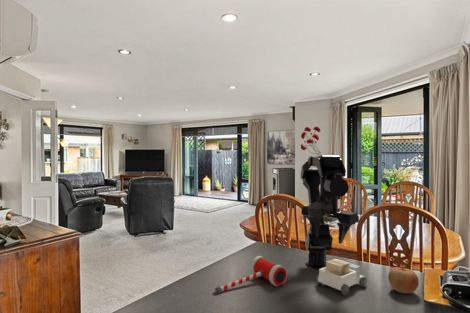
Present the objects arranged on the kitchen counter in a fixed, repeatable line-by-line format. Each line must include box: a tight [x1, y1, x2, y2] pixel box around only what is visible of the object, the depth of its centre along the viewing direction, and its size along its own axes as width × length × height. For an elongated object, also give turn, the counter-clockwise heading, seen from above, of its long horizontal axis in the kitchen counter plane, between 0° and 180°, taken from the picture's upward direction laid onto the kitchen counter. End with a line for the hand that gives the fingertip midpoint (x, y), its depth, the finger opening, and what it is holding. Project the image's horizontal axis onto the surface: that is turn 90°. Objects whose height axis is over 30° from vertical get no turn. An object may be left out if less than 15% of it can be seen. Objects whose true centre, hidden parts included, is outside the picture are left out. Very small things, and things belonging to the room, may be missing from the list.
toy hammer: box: [214, 255, 288, 295], centre depth 95 cm, size 23×12×6 cm, turn 123°
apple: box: [387, 264, 420, 294], centre depth 92 cm, size 8×8×8 cm
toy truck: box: [315, 262, 368, 296], centre depth 96 cm, size 13×10×6 cm
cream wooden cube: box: [326, 258, 350, 276], centre depth 94 cm, size 5×5×5 cm
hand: (328, 240), depth 100 cm, fingers open, 9 cm apart
